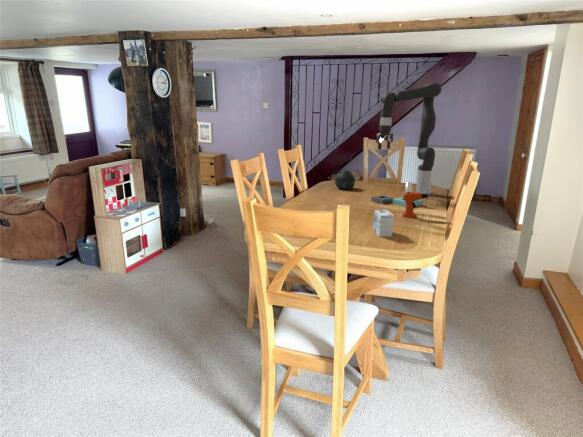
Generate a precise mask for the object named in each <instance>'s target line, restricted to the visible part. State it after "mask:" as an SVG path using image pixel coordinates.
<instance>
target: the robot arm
mask: <svg viewBox="0 0 583 437" xmlns="http://www.w3.org/2000/svg"><path fill="white" fill-rule="evenodd" d="M441 93H442V87H441V85H440V84H439V83H438V82H428V83H426V84H425V85H424V86H423V87H417V88H410V89H409V88H407V89H403V90H399V91H394V92H387V93H386V92H385V93H384V94H382V95H381V96H380V103H381V104H383V108H381V111H380V120H379V133H376V137H375V143H376V144H377V149H378V150H382V143H383V142H384V141H386V149H388V150H390V149H391V143H393V142H394V133H393V132H392V122H393V121H392V120H393V119H392V117H393V109H394V105H395V103H403V102H406V101H410V100H415V99H420V98H422V112H421V123H420V133H419V140H418V145H417V152H416V155H417V158H418V159H419V160H423V161H422V164H420V165H418V168H417V178H416V187H415V188H416V189H415V193H416V192H418V193H421V194H427V195H431V188H432V172H433V167H434V163H435V157H436V151H435V149H434V148H433V147H430V146H429V140H430V137H431V136H432V134H433V132H434V130H435V128H436V122H437V121H436V120H437V117H436V112H435V108H434V107H435V106H434V100H435V97H436V98H437V97H438V96H439V95H440V94H441Z"/></svg>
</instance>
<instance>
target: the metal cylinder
mask: <svg viewBox="0 0 583 437" xmlns="http://www.w3.org/2000/svg"><path fill="white" fill-rule="evenodd" d="M407 192H411V193H413V182H412V181H406V182H405V189H404V194H405V193H407Z"/></svg>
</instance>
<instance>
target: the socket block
mask: <svg viewBox="0 0 583 437" xmlns="http://www.w3.org/2000/svg"><path fill="white" fill-rule="evenodd" d="M393 199H395V198H394V197H393V196H387V195H385V194H384V195H383V194H380V195H379V194H378V195H375V196H371V200H370V201H371V202H374V203H377V204H380V205H381V204H382V205H385V204H390V203H391V202H392V203H393ZM392 203H391V204H392Z"/></svg>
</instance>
